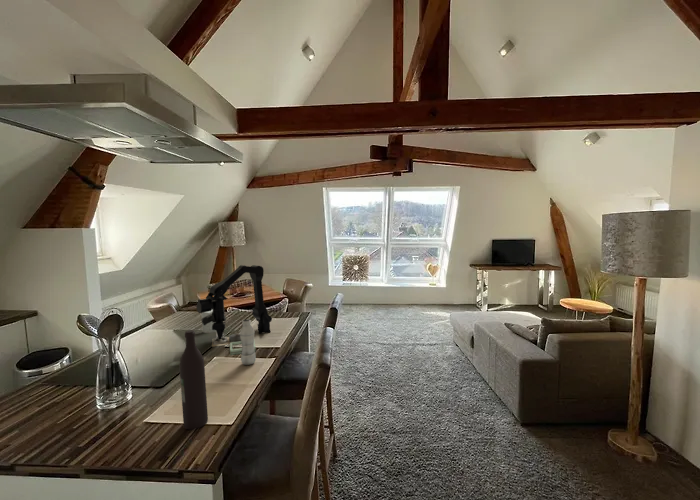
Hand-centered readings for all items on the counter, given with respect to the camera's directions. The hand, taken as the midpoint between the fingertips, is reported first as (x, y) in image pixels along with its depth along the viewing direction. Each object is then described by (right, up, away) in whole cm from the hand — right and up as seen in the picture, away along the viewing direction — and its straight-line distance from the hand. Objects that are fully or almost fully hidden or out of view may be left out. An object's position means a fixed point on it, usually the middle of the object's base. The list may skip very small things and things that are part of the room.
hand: (220, 337), depth 181 cm
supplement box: (-14, -2, +24) cm, 28 cm away
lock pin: (0, -2, 0) cm, 2 cm away
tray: (+15, -4, -8) cm, 17 cm away
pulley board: (+5, -3, +2) cm, 6 cm away
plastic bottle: (+23, -5, -27) cm, 36 cm away
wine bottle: (+20, -9, -73) cm, 76 cm away
